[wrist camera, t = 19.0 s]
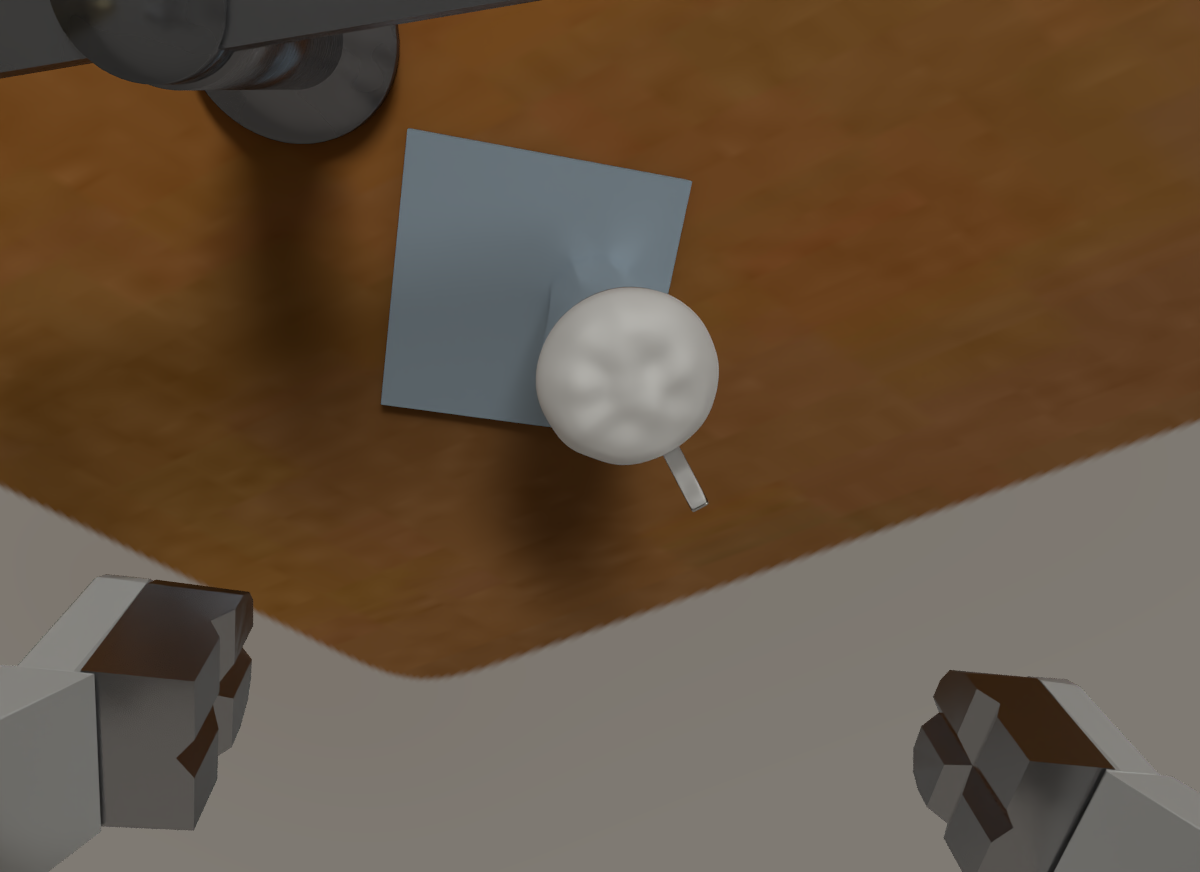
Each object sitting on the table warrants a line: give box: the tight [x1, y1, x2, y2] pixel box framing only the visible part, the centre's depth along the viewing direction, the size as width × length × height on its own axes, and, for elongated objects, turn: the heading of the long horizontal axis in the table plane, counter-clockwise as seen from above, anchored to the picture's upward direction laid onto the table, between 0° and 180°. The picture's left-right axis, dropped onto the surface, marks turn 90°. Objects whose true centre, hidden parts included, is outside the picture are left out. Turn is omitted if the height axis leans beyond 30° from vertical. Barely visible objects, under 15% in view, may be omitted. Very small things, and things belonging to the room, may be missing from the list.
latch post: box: [149, 24, 400, 144], centre depth 20 cm, size 6×6×10 cm
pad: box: [381, 128, 692, 427], centre depth 29 cm, size 9×9×1 cm
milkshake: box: [536, 255, 719, 512], centre depth 24 cm, size 4×5×10 cm
